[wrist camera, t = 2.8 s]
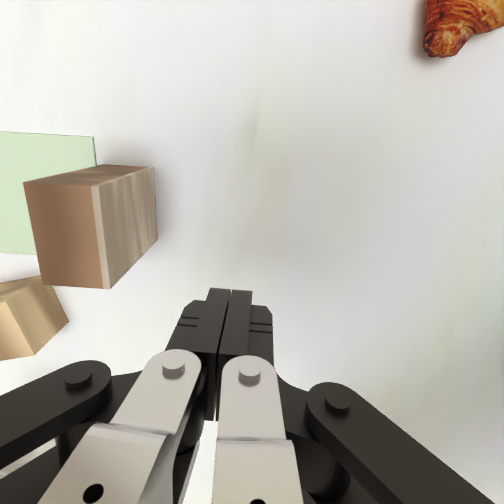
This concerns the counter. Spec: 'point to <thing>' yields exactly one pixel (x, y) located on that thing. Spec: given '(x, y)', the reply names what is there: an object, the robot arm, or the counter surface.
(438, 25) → the croissant
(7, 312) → the oak block
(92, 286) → the walnut block
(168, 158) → the counter surface
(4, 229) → the pad
